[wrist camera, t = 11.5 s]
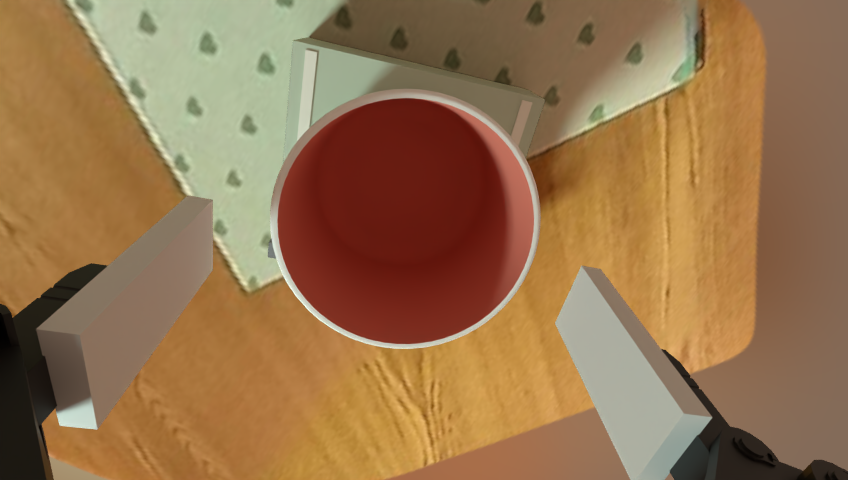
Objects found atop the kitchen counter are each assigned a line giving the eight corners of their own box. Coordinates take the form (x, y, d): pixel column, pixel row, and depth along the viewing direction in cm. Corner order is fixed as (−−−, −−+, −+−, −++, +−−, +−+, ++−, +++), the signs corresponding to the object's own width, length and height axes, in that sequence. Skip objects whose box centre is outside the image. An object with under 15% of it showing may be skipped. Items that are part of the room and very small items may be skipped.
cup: (278, 169, 25) (207, 214, 15) (415, 52, 23) (431, 21, 14) (390, 291, 28) (390, 393, 18) (518, 193, 26) (591, 248, 17)
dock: (307, 37, 26) (283, 42, 21) (527, 89, 28) (556, 106, 23) (291, 216, 31) (267, 257, 26) (476, 250, 33) (490, 294, 28)
